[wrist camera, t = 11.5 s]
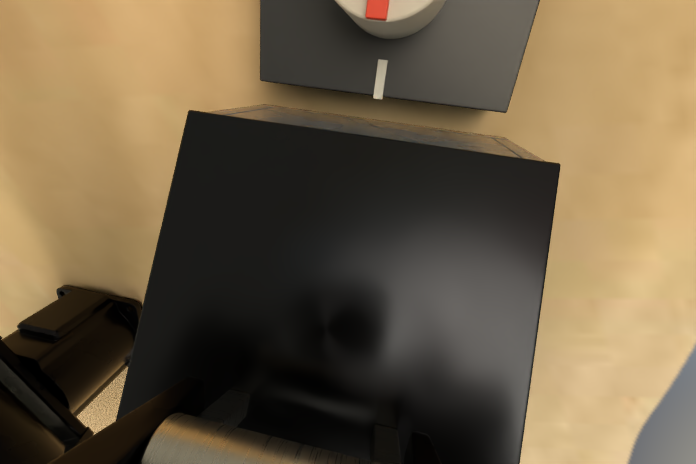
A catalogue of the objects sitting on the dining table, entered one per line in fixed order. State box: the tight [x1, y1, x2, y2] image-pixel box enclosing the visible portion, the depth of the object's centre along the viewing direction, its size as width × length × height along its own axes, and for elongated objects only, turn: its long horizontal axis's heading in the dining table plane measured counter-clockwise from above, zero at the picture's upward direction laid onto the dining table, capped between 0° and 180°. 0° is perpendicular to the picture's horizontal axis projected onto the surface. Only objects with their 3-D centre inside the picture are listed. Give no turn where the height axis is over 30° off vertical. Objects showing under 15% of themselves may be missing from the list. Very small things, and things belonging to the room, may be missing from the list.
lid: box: [116, 110, 560, 464], centre depth 9 cm, size 12×12×4 cm
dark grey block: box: [207, 104, 544, 161], centre depth 16 cm, size 12×12×6 cm
